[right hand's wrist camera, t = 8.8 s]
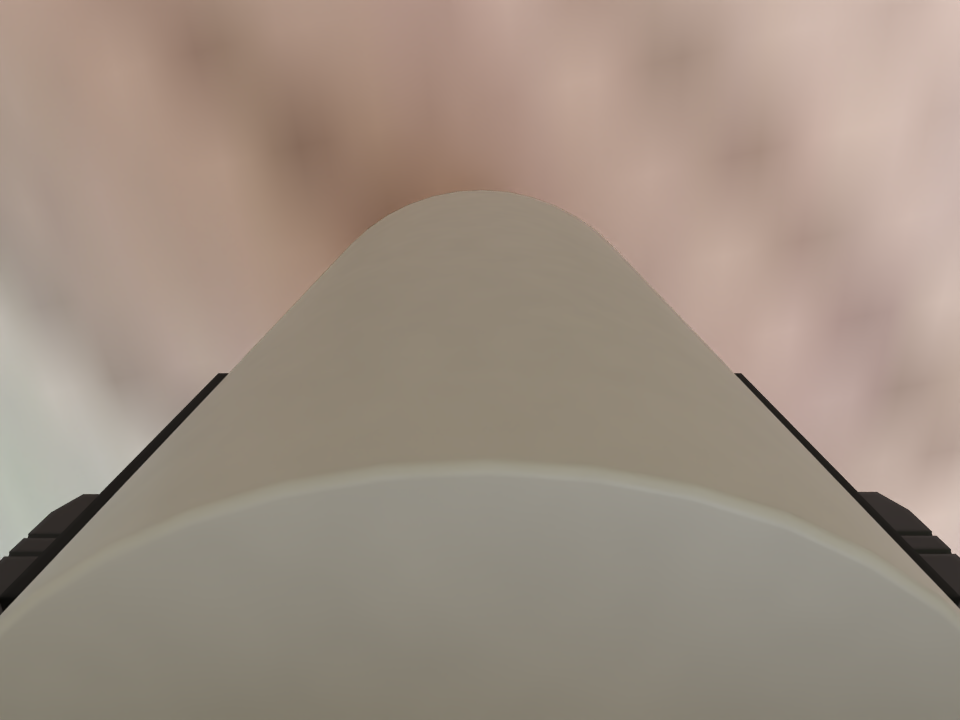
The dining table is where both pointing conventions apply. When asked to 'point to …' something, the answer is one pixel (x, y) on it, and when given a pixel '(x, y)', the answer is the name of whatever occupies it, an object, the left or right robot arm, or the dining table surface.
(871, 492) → the right robot arm
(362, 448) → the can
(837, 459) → the dining table surface
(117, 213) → the dining table surface
